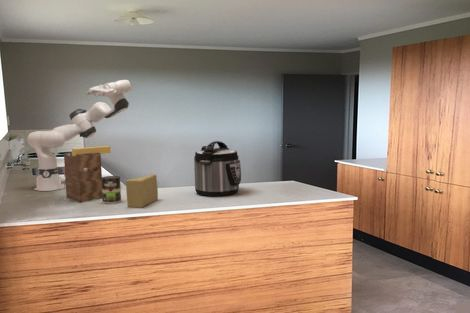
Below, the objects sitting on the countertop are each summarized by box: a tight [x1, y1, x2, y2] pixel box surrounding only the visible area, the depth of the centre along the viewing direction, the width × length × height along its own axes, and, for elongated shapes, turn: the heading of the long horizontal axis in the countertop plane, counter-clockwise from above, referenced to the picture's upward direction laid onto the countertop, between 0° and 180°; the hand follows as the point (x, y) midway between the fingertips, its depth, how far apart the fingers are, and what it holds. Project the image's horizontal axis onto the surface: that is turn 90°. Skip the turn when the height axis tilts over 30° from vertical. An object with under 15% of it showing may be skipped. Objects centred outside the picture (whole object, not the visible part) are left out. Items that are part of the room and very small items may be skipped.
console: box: [63, 152, 103, 203], centre depth 260 cm, size 14×19×27 cm
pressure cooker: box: [193, 140, 242, 197], centre depth 268 cm, size 30×28×32 cm
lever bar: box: [71, 145, 111, 156], centre depth 259 cm, size 22×4×4 cm, turn 135°
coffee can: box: [101, 175, 122, 204], centre depth 249 cm, size 10×10×14 cm
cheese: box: [125, 173, 159, 209], centre depth 242 cm, size 22×10×15 cm, turn 157°
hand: (91, 94), depth 276 cm, fingers open, 8 cm apart
